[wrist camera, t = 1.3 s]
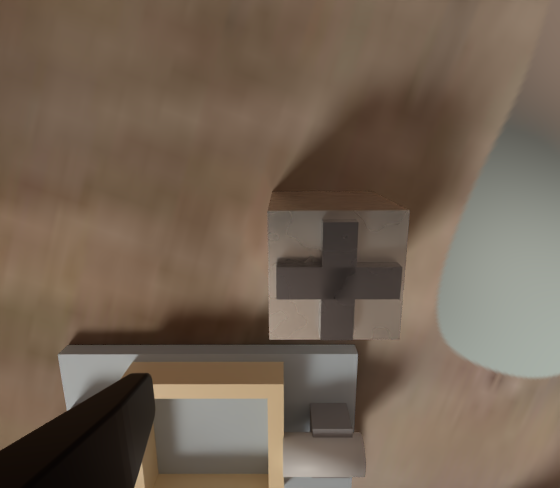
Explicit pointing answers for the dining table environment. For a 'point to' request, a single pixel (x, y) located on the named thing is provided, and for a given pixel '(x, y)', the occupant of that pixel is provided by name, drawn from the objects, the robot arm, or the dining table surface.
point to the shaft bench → (235, 412)
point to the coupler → (335, 265)
